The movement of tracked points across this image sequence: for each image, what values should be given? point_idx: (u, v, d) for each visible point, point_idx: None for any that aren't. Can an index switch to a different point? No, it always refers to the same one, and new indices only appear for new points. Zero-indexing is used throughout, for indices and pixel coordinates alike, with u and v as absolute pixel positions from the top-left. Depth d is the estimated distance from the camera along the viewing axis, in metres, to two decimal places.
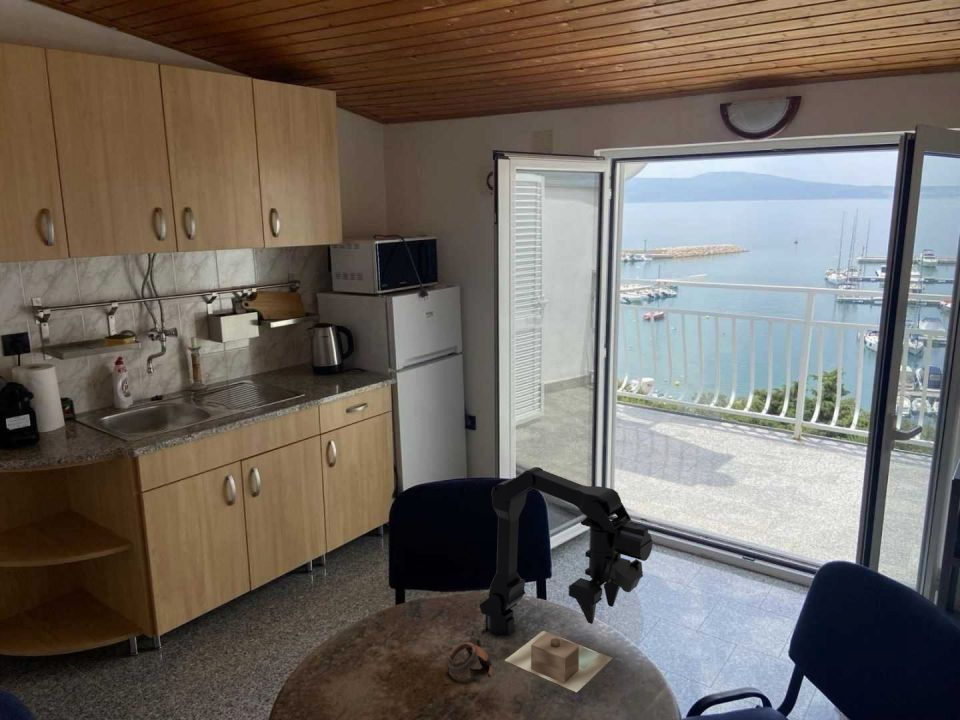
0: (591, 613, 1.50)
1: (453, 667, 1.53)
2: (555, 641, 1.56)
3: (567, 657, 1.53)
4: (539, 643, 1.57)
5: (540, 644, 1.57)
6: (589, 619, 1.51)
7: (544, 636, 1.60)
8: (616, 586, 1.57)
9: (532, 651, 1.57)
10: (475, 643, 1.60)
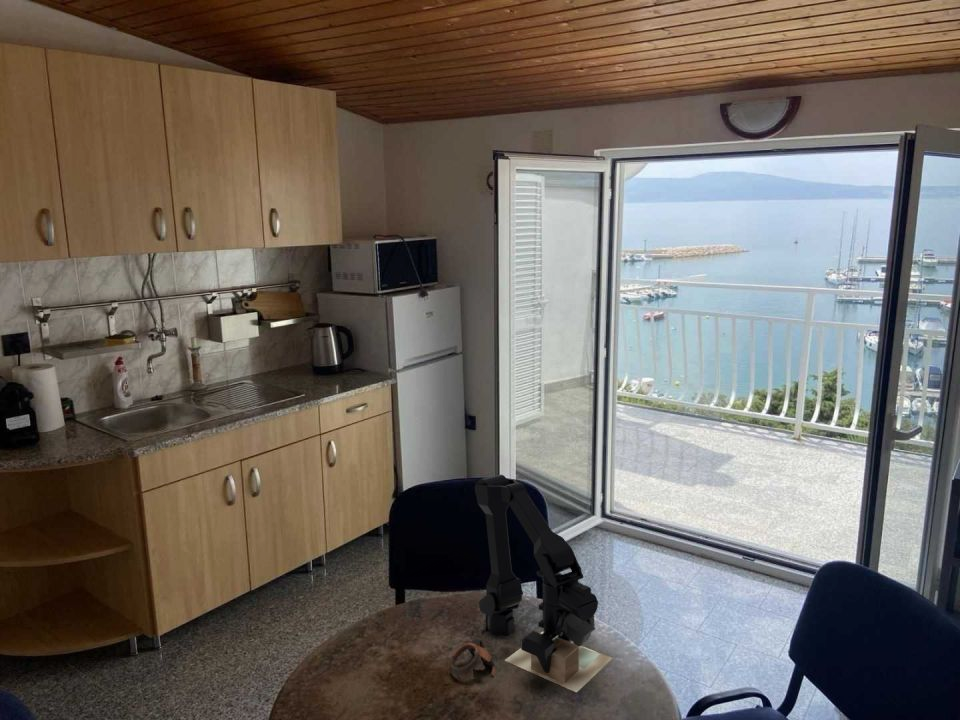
0: (547, 663, 1.53)
1: (456, 668, 1.53)
2: (555, 641, 1.56)
3: (567, 657, 1.53)
4: None
5: None
6: (545, 669, 1.54)
7: None
8: (567, 639, 1.59)
9: None
10: (478, 644, 1.60)
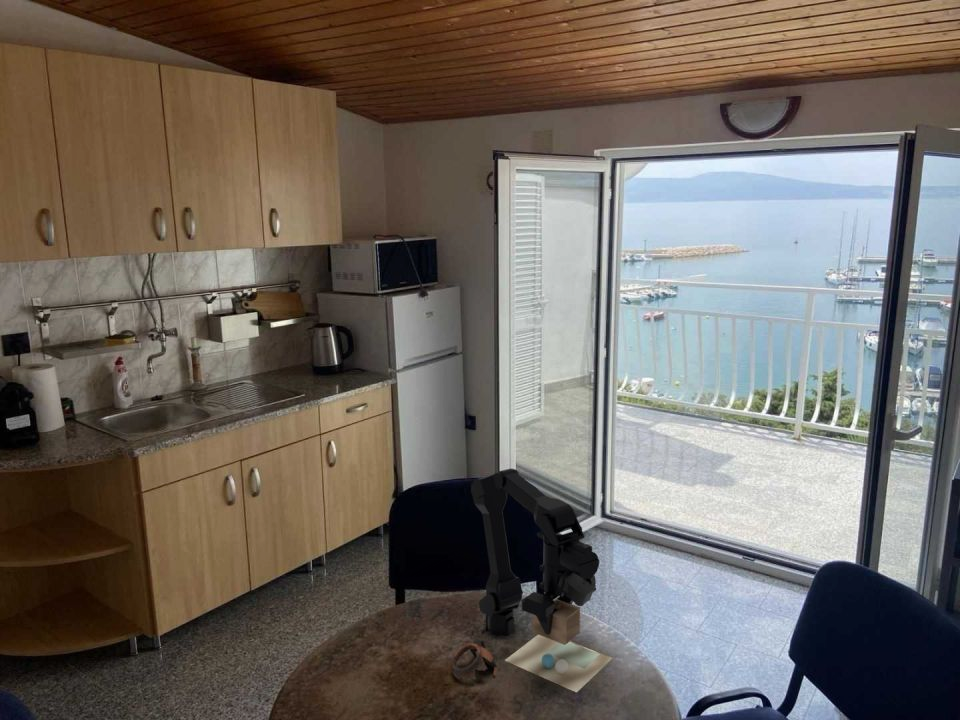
0: (548, 624, 1.51)
1: (458, 668, 1.53)
2: (556, 603, 1.55)
3: (568, 618, 1.51)
4: None
5: None
6: (546, 630, 1.53)
7: None
8: (568, 601, 1.57)
9: None
10: (479, 644, 1.60)
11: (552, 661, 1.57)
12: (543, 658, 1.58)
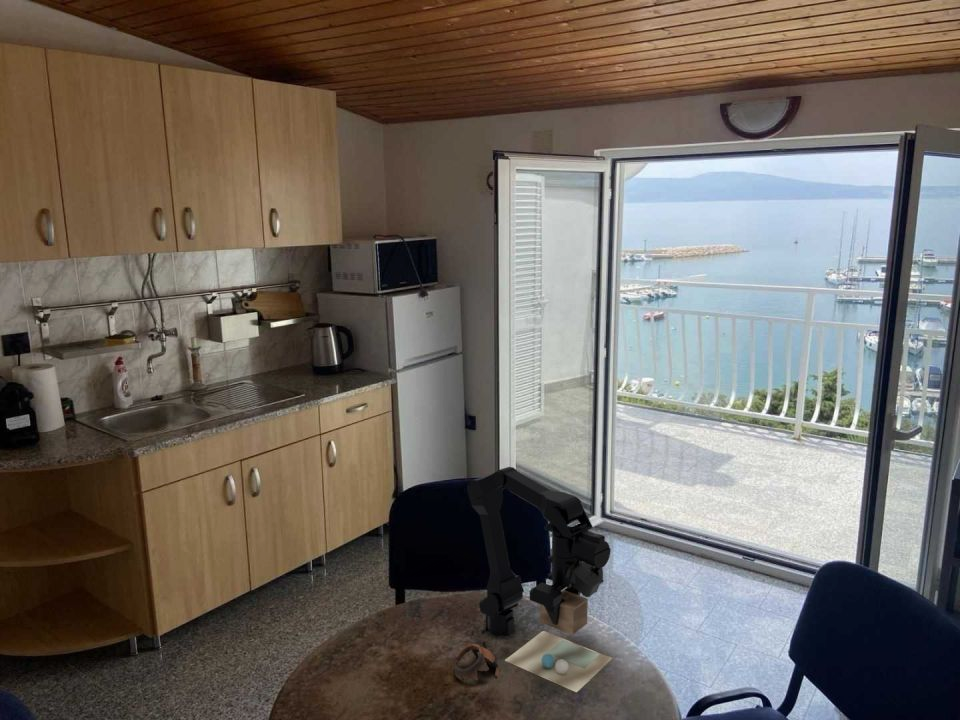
0: (555, 614, 1.54)
1: (460, 669, 1.53)
2: (564, 594, 1.57)
3: (575, 609, 1.53)
4: None
5: None
6: (554, 620, 1.55)
7: None
8: (576, 593, 1.60)
9: None
10: (481, 645, 1.59)
11: (552, 661, 1.57)
12: (543, 658, 1.58)
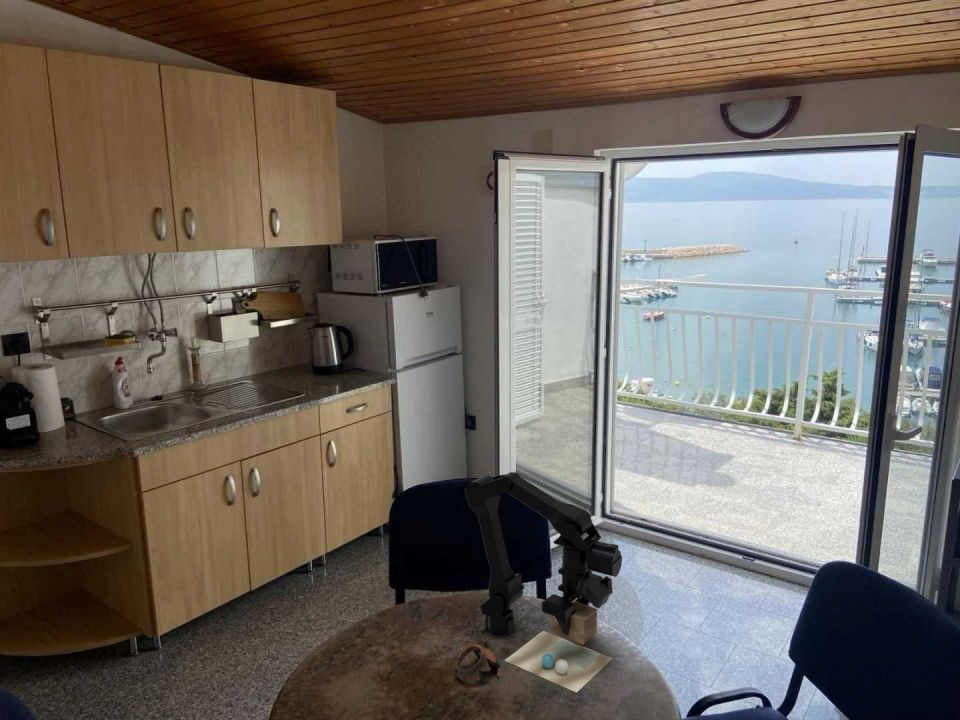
0: (566, 625, 1.58)
1: (462, 670, 1.52)
2: (574, 604, 1.61)
3: (586, 619, 1.58)
4: None
5: None
6: (565, 631, 1.60)
7: None
8: (585, 603, 1.64)
9: None
10: (483, 645, 1.59)
11: (552, 661, 1.57)
12: (543, 658, 1.58)
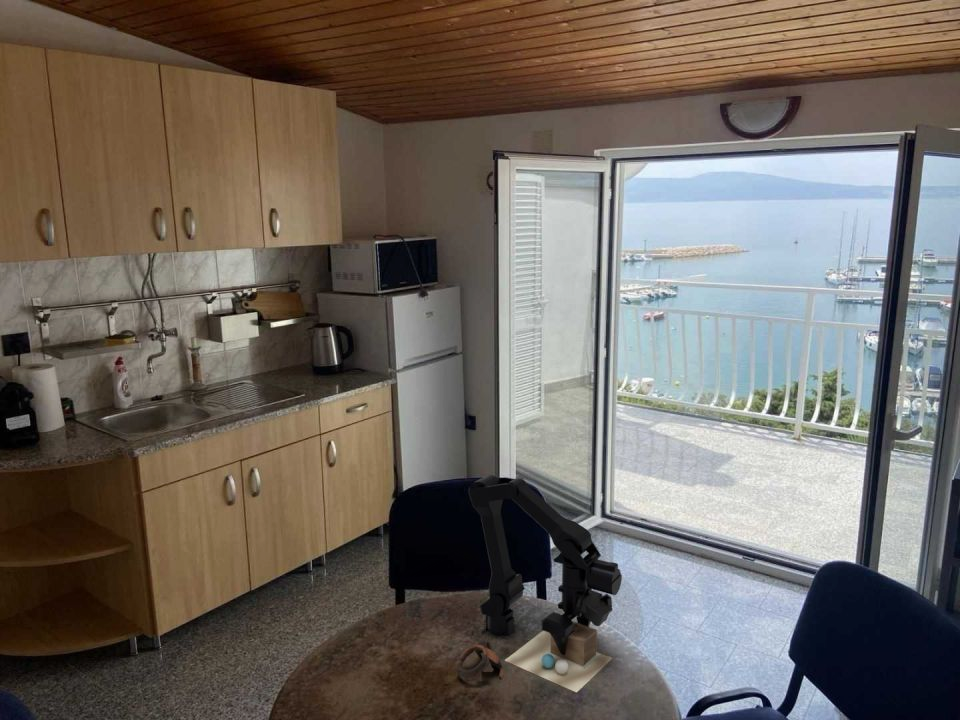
0: (563, 645, 1.58)
1: (464, 670, 1.52)
2: (574, 626, 1.62)
3: (586, 641, 1.59)
4: None
5: None
6: (562, 651, 1.59)
7: None
8: (587, 618, 1.66)
9: None
10: (485, 646, 1.59)
11: (552, 661, 1.57)
12: (543, 658, 1.58)
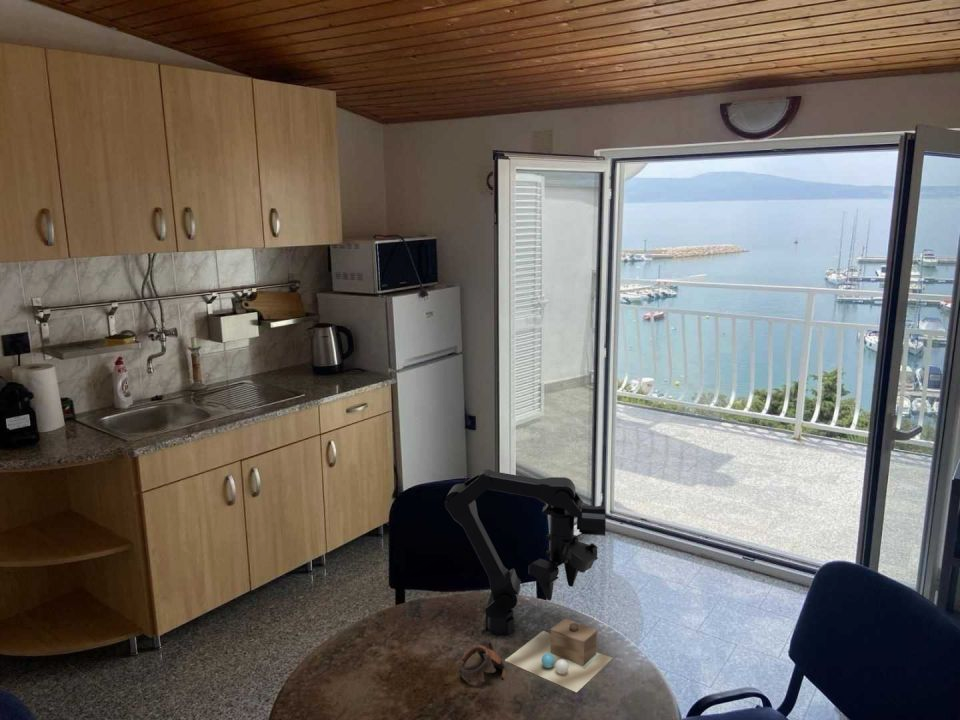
0: (549, 590, 1.65)
1: (466, 671, 1.52)
2: (574, 626, 1.62)
3: (586, 641, 1.59)
4: (558, 628, 1.63)
5: (559, 628, 1.63)
6: (548, 596, 1.66)
7: (563, 621, 1.66)
8: (575, 568, 1.72)
9: (552, 635, 1.63)
10: (487, 646, 1.59)
11: (552, 661, 1.57)
12: (543, 658, 1.58)
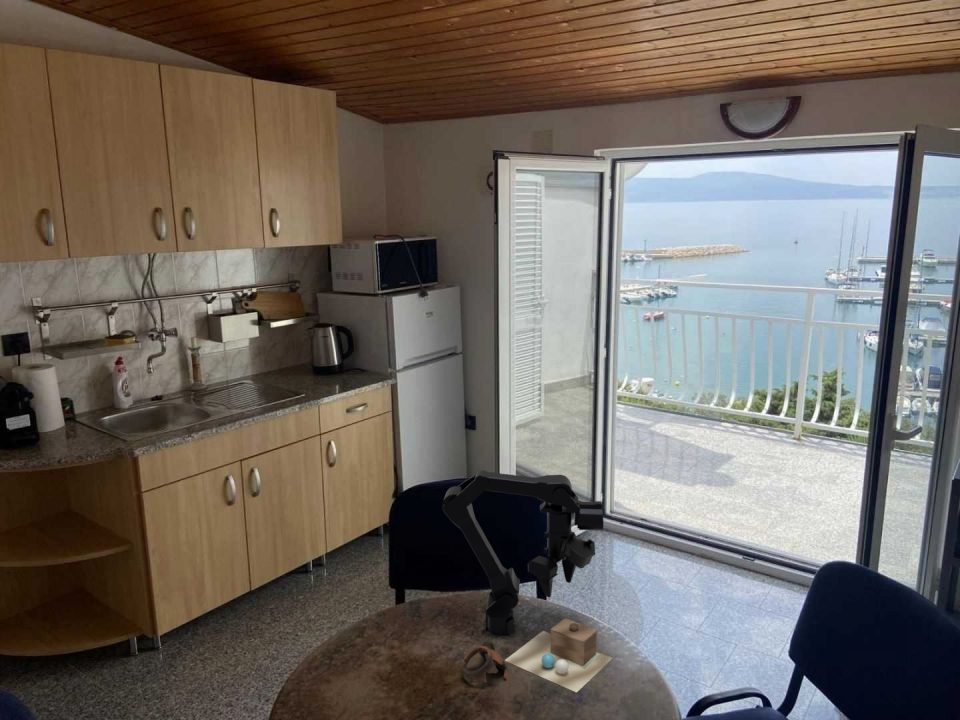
0: (548, 587, 1.66)
1: (469, 672, 1.52)
2: (574, 626, 1.62)
3: (586, 641, 1.59)
4: (558, 628, 1.63)
5: (559, 628, 1.63)
6: (547, 593, 1.67)
7: (563, 621, 1.66)
8: (572, 564, 1.74)
9: (552, 635, 1.63)
10: (489, 647, 1.59)
11: (552, 661, 1.57)
12: (543, 658, 1.58)
